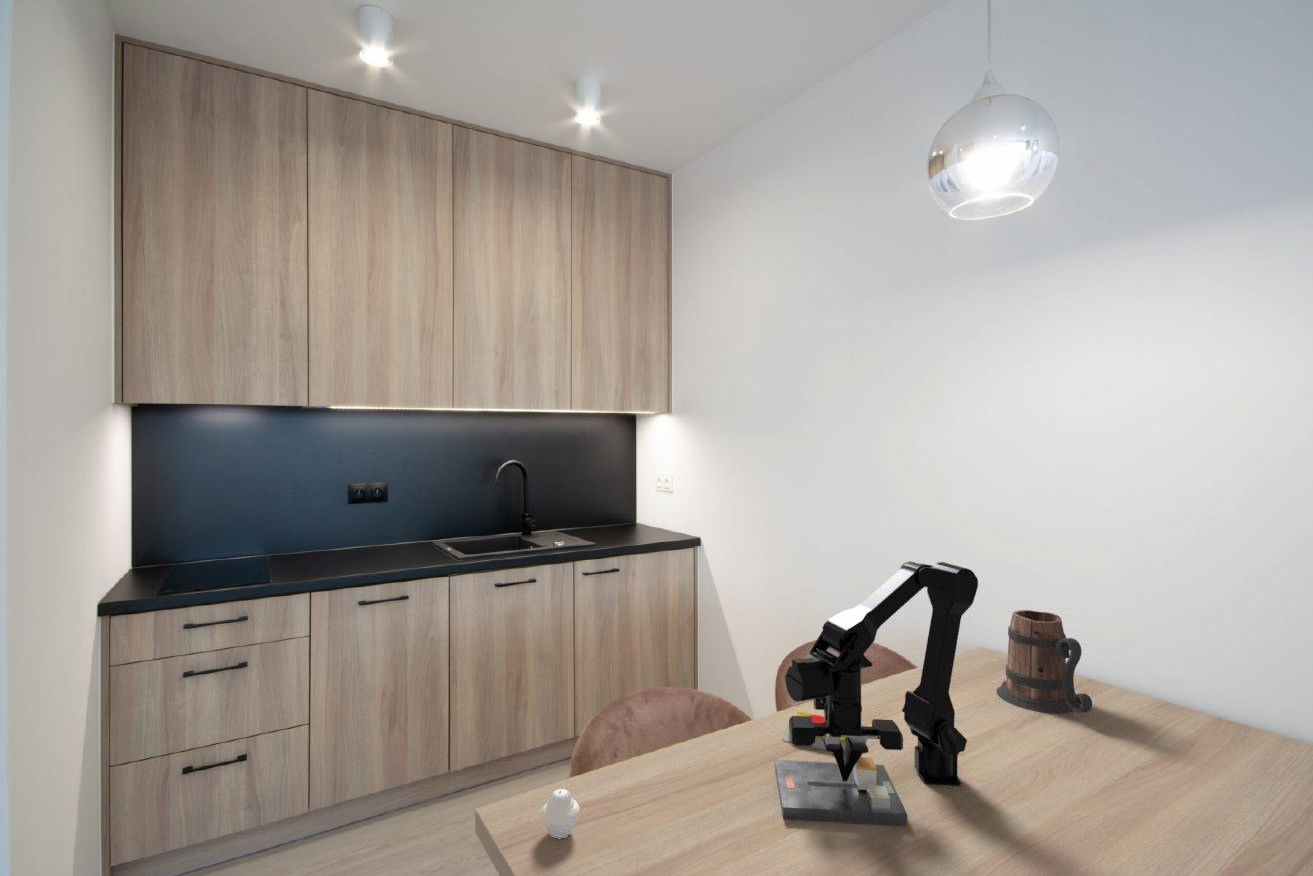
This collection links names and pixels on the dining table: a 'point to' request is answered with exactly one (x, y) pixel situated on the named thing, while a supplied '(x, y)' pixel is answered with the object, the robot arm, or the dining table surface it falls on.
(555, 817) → the white rounded lump
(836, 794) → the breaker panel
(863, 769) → the block
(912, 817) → the dining table surface
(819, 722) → the emergency button
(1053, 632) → the tankard
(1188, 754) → the dining table surface
